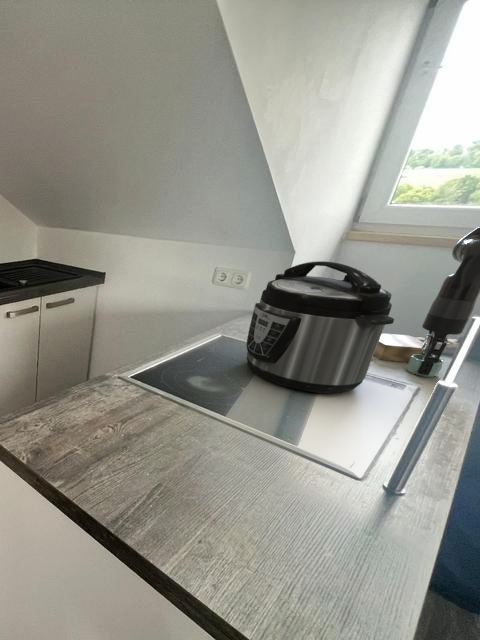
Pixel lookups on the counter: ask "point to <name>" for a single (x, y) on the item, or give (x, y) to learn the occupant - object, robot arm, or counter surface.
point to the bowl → (416, 362)
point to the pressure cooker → (317, 328)
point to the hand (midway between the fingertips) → (422, 369)
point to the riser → (398, 347)
